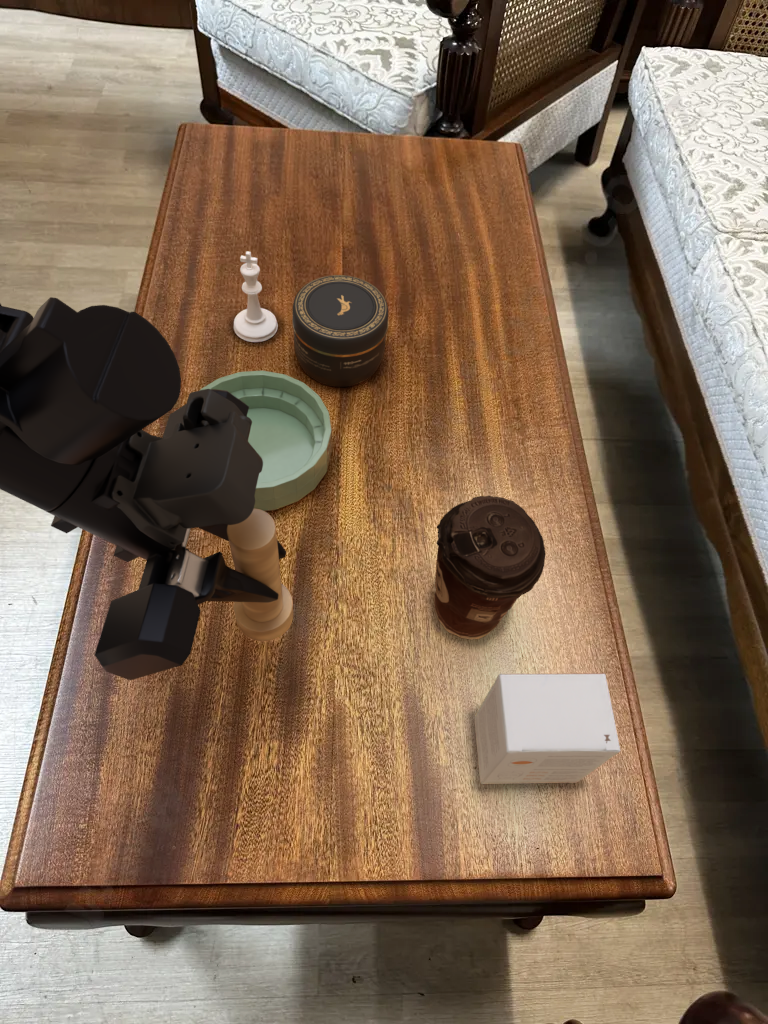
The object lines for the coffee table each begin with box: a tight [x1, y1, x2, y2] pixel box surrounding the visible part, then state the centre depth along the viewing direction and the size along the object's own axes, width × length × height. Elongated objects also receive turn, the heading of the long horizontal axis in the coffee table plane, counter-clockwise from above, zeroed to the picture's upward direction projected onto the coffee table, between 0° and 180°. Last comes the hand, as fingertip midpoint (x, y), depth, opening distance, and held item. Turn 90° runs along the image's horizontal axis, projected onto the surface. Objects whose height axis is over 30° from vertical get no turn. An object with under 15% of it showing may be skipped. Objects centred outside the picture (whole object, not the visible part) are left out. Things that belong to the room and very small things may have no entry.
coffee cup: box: [433, 495, 546, 640], centre depth 59 cm, size 9×8×13 cm
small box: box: [473, 672, 621, 785], centre depth 54 cm, size 8×6×10 cm
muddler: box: [227, 509, 294, 643], centre depth 50 cm, size 4×4×13 cm
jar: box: [291, 274, 389, 388], centre depth 77 cm, size 10×10×8 cm
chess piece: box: [233, 250, 279, 343], centre depth 77 cm, size 5×5×10 cm
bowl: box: [198, 370, 332, 512], centre depth 70 cm, size 14×14×4 cm
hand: (278, 577), depth 50 cm, fingers closed on muddler, 3 cm apart
